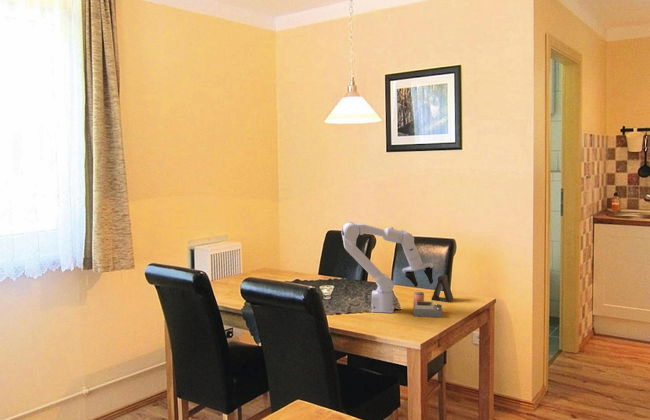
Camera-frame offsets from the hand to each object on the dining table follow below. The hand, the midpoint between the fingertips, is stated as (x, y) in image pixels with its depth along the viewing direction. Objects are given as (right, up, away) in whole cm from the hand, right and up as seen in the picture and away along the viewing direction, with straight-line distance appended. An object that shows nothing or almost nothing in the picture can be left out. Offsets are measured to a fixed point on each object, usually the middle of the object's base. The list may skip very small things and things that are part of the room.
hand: (424, 284), depth 252 cm
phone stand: (+12, -10, +16) cm, 22 cm away
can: (-2, -11, +2) cm, 11 cm away
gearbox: (0, -12, -7) cm, 14 cm away
